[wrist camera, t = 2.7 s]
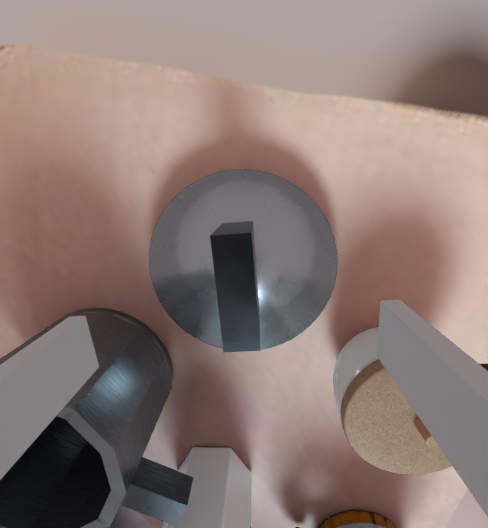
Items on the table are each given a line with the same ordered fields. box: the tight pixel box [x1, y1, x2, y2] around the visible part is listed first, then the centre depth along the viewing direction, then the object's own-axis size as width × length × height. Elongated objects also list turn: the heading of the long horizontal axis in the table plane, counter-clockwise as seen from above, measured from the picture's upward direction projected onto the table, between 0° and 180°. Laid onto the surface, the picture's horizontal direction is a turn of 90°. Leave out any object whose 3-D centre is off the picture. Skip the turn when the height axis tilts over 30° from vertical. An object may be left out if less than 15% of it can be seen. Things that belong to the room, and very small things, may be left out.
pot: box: [0, 309, 193, 528], centre depth 24 cm, size 14×18×11 cm
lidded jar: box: [333, 327, 452, 474], centre depth 22 cm, size 11×11×9 cm
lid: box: [149, 170, 337, 352], centre depth 21 cm, size 16×16×8 cm
